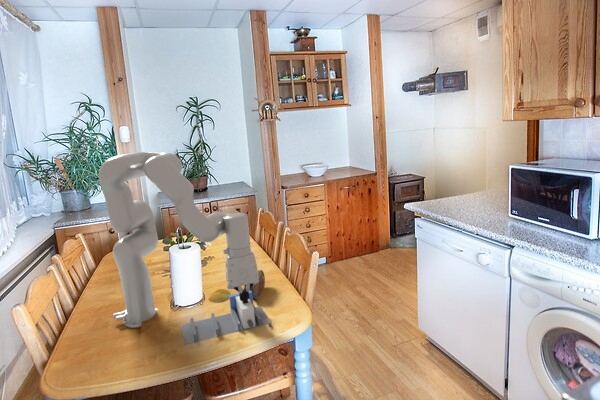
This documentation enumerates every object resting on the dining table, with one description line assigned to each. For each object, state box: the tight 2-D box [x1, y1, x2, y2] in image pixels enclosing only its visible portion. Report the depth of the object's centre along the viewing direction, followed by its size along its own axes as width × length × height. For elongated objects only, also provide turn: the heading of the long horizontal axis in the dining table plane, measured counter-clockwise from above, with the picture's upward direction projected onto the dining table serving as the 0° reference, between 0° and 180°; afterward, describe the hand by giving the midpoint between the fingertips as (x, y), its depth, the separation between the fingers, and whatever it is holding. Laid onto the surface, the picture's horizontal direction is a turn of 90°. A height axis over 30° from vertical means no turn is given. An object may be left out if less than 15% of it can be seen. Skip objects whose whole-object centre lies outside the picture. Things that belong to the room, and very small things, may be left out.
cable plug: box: [236, 296, 255, 330], centre depth 132 cm, size 4×14×7 cm, turn 21°
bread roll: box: [208, 288, 232, 303], centre depth 153 cm, size 8×9×4 cm
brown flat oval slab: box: [250, 269, 266, 300], centre depth 156 cm, size 15×3×8 cm, turn 168°
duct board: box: [181, 291, 272, 346], centre depth 132 cm, size 28×13×8 cm, turn 110°
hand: (244, 301), depth 133 cm, fingers closed
